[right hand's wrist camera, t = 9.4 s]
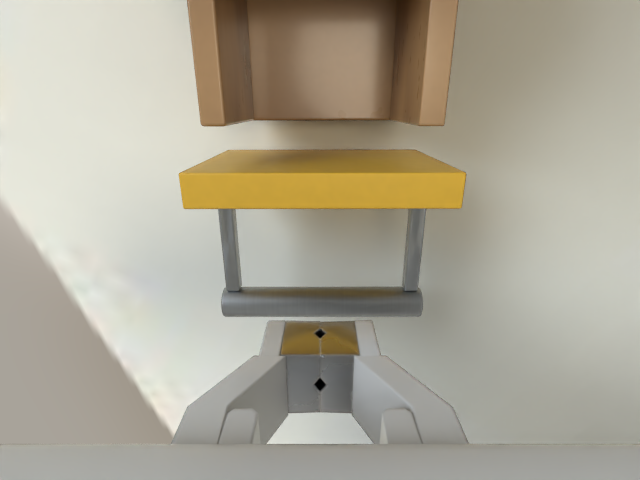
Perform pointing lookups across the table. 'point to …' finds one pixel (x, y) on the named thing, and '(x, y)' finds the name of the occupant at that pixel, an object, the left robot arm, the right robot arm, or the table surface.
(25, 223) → the table surface
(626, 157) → the table surface
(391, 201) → the drawer
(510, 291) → the table surface
